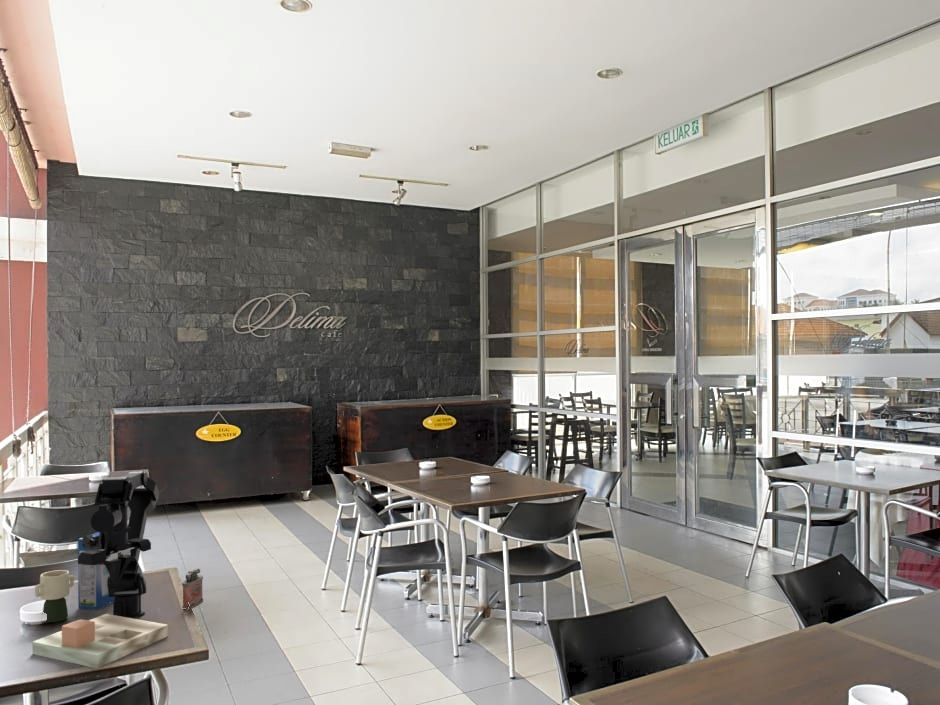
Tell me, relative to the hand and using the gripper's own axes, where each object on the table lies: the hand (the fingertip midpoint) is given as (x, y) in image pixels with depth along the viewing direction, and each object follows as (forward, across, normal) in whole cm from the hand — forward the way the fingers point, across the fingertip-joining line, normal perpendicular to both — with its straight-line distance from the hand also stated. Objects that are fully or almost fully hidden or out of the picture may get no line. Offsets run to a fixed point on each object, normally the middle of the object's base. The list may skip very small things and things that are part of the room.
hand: (115, 583), depth 193 cm
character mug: (+12, +1, -21) cm, 25 cm away
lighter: (+12, -23, +5) cm, 26 cm away
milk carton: (+12, -14, -22) cm, 29 cm away
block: (+9, +16, +6) cm, 19 cm away
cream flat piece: (+12, +9, +6) cm, 16 cm away
